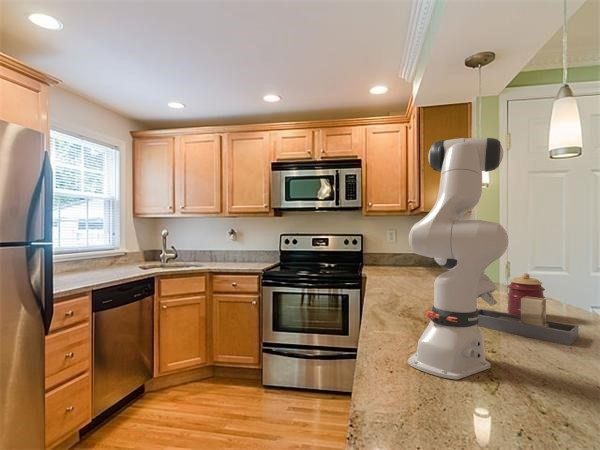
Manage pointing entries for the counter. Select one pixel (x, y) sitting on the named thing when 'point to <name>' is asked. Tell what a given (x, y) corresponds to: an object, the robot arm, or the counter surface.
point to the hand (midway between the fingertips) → (494, 304)
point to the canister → (522, 292)
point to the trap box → (528, 327)
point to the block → (533, 311)
